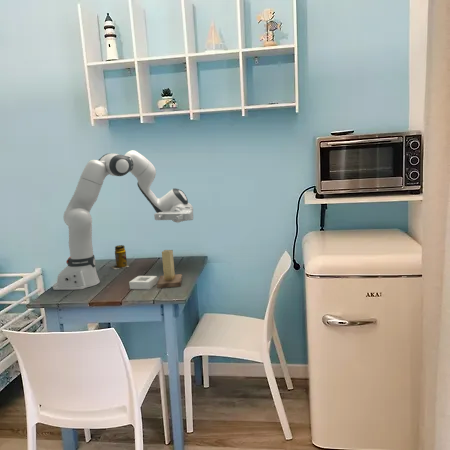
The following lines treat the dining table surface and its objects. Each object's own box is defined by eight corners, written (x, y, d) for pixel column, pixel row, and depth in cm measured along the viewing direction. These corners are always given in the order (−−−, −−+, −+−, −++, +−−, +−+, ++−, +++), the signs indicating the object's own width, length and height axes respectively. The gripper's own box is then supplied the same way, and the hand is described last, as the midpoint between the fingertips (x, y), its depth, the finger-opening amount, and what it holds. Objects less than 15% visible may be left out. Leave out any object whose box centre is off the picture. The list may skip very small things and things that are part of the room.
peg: (164, 280, 227) (161, 251, 225) (167, 277, 231) (164, 249, 228) (172, 280, 226) (169, 251, 224) (175, 277, 230) (172, 249, 227)
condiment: (129, 266, 266) (127, 246, 264) (115, 269, 261) (113, 248, 259) (124, 264, 272) (122, 244, 270) (110, 267, 267) (108, 246, 265)
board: (157, 288, 222) (157, 284, 221) (160, 279, 236) (160, 275, 235) (180, 286, 222) (180, 282, 222) (182, 277, 236) (181, 274, 235)
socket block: (129, 289, 223) (129, 281, 223) (139, 282, 233) (138, 275, 232) (149, 289, 220) (148, 282, 220) (157, 282, 230) (157, 276, 229)
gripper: (159, 208, 255) (149, 212, 242) (195, 207, 249) (186, 211, 236) (160, 220, 256) (150, 224, 243) (196, 219, 250) (187, 224, 237)
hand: (168, 218), depth 239 cm, fingers open, 8 cm apart
